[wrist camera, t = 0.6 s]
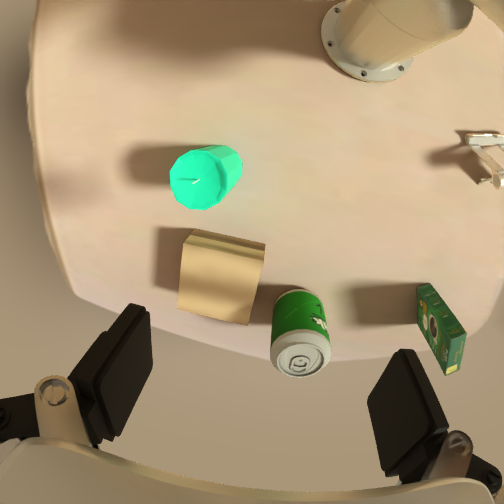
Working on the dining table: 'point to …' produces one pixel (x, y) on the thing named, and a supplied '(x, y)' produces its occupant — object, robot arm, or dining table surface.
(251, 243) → the tan flat block
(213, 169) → the candle
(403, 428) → the robot arm
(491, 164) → the portable electronic device stand
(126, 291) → the dining table surface
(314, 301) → the soda can
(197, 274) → the oak block
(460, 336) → the coffee box
